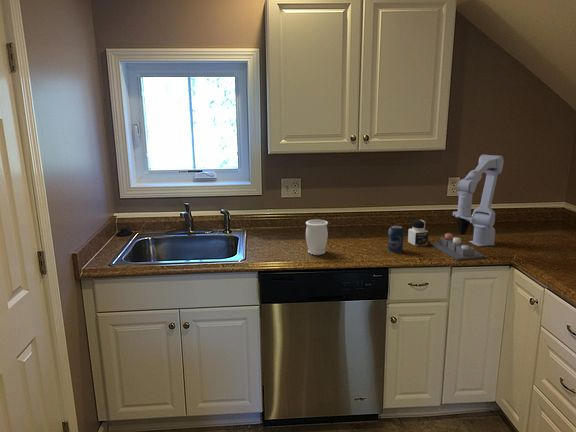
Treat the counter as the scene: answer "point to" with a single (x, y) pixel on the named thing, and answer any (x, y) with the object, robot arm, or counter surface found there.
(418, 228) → the medicine bottle
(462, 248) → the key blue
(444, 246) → the keypad base
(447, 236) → the key red
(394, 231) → the soda can
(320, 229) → the jar
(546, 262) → the counter surface
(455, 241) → the key ivory
